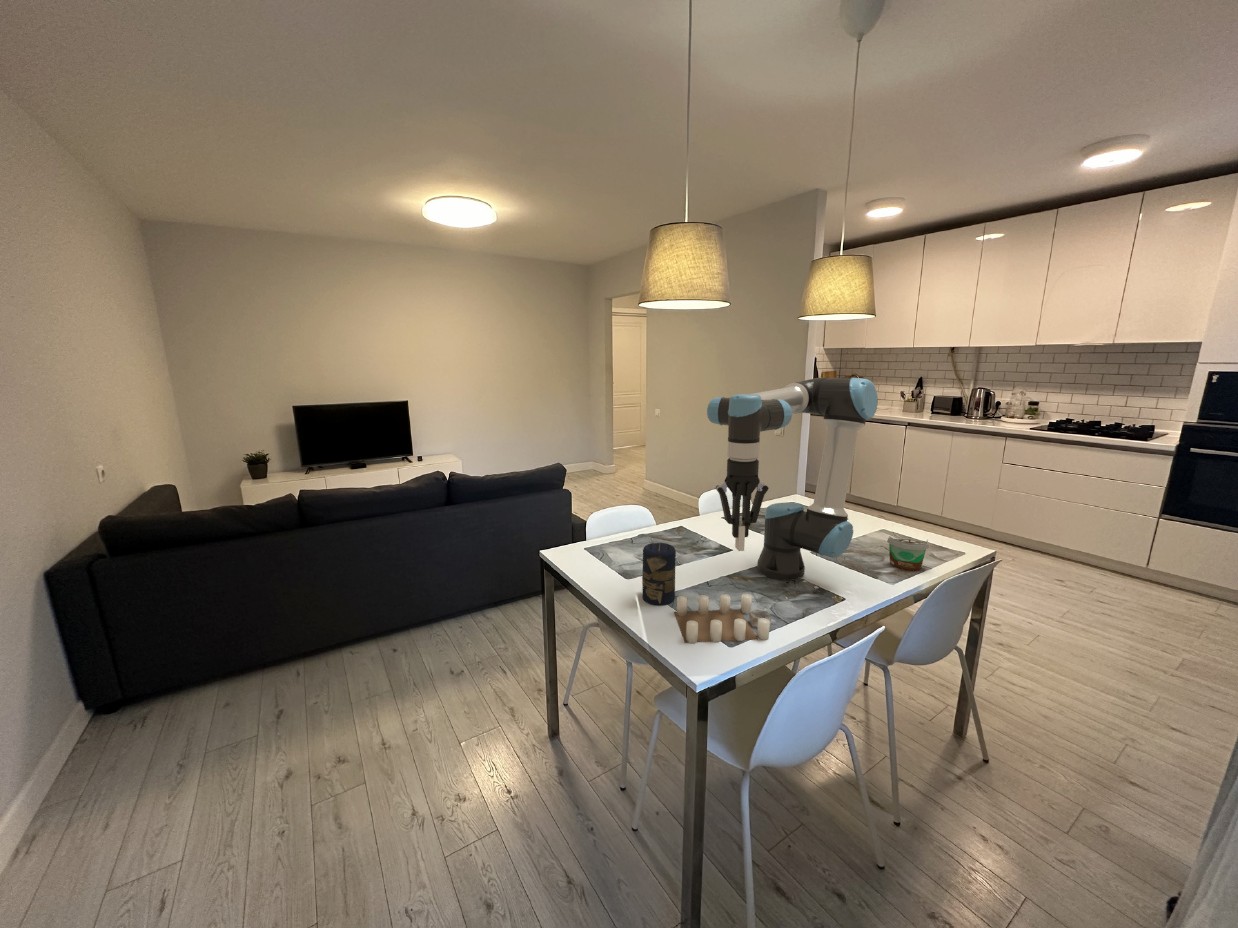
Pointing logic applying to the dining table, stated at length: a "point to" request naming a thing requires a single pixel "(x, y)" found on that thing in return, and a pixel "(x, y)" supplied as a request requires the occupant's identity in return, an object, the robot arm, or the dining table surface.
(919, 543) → the food container
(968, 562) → the dining table surface
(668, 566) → the canister
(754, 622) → the nut
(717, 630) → the spacers
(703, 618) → the board
